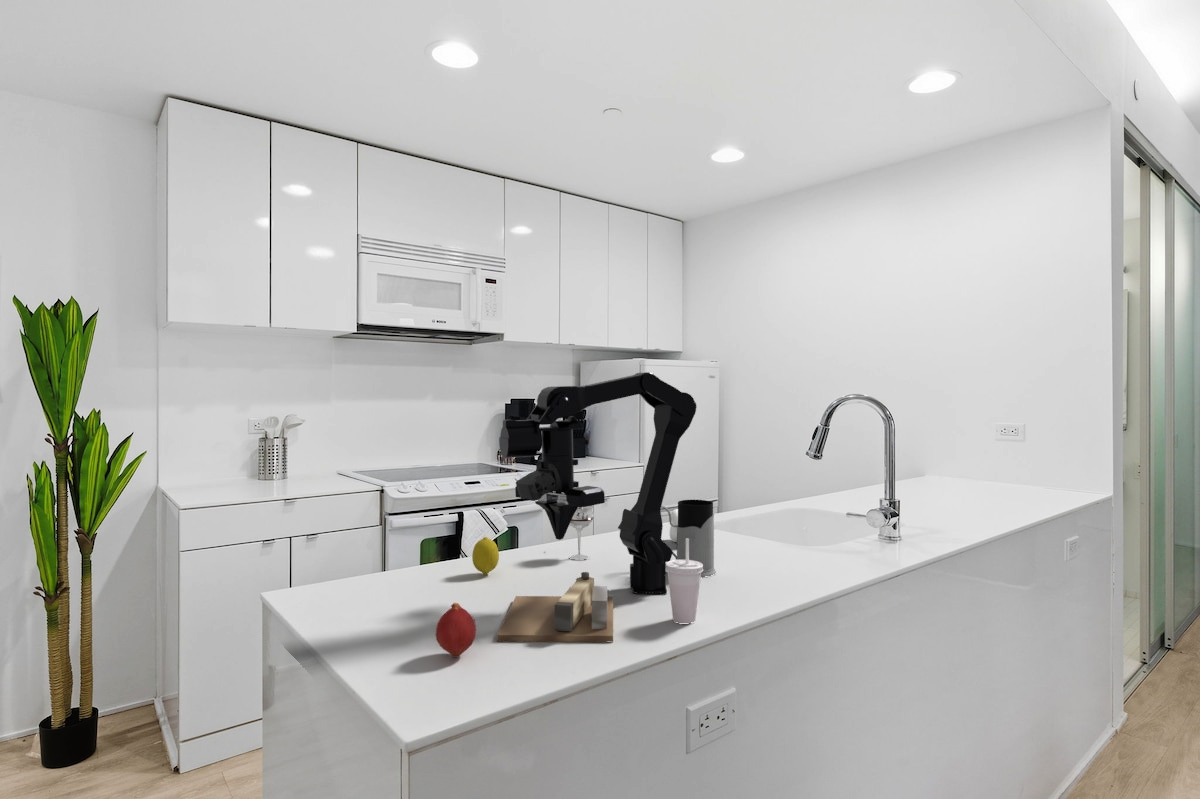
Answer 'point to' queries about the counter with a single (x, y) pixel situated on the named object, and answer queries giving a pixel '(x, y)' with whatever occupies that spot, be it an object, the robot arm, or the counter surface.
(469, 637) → the onion
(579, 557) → the wineglass
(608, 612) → the seat
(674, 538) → the white rounded piece
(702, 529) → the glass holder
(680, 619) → the smoothie
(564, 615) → the leg
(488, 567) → the lemon
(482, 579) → the counter surface
